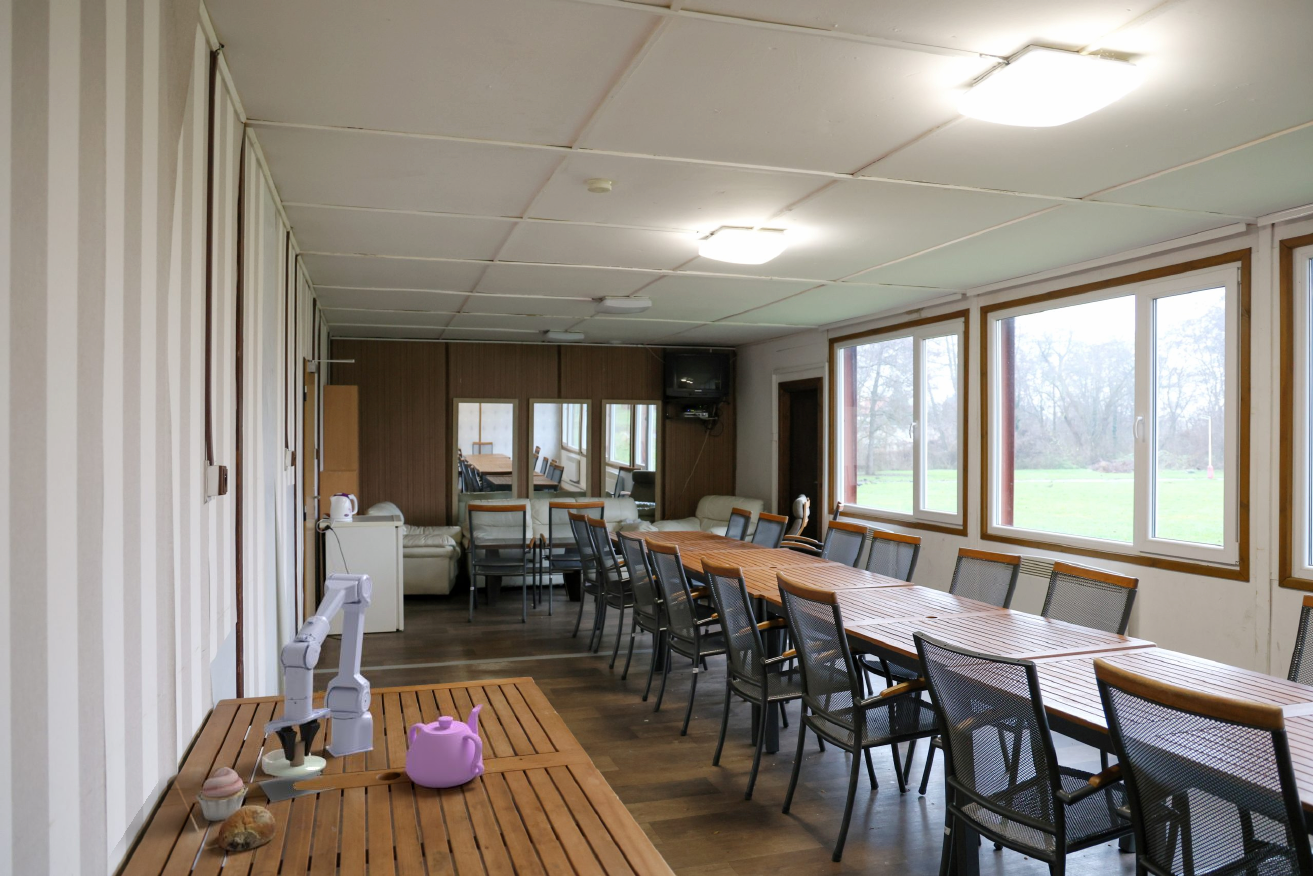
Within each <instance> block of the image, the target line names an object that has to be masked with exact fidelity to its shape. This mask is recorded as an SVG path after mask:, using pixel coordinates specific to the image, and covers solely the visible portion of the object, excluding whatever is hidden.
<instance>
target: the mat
mask: <svg viewBox="0 0 1313 876" xmlns="http://www.w3.org/2000/svg"><path fill="white" fill-rule="evenodd" d="M317 774H319V775H320V774H323V773H322V772H321V770H320V771H318V772H316V773H312V774H309V775H304V776H297V777H277V778H271V779H267V780H263V781H258V782H257V783H258V785H259V786H260V788H261V789H262V790H263V792H264V793H265V795H266V796H267V798H268V799H269V801H270V802H271V803H276V802H280V801H281V802H282V801H284V800H289V799H294V798H295V799H296V798H298V797H304V796H308V795H312V794H317V793H323V792H327V791H331V790H335V789H336V788H335V787H334V788H331V789H325V790H324V789H323V790H296V789H294V788H293V787H294V786H295V785H294V786H293V784H294V783H295V782H299V781H306V780H311V779H313V778H315V779H316V778H318V777H320V778H322V777H323V776H324V775H323V776H317Z"/></svg>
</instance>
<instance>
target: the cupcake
mask: <svg viewBox="0 0 1313 876" xmlns="http://www.w3.org/2000/svg"><path fill="white" fill-rule="evenodd" d="M202 788H203V790H201V791H199V794H197V795H196V796H195V797H196V799H197V800H198V802H199V804H200V806H201V809H202V813H203V818H204V819H205V820H207V821H211V822H219V821H225V819H226V818H228V817H229V816H230V815H231V814H232V813H233V812H235V811H236V810H238V809H240V808H242V803H243V800H244V797H245V796H246V793H247V791H248V790H249V787H246V786H245V784H244V781H243V780H242V778H241V777H239V775H238V773H237V772H236V771H235V770H234V769H233V768H230V767H226V766H223V767H222V768H219V769H217V771H216V772H215V773H214V774H213V776H212V777H210V778H208V779H206V780H205V781H204V783H203V787H202Z"/></svg>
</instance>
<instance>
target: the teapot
mask: <svg viewBox="0 0 1313 876" xmlns="http://www.w3.org/2000/svg"><path fill="white" fill-rule="evenodd" d="M482 708H483V704H478V705H476V706H475V707H474V708H472V710H471V712H470V713H469V717H468V718H467V719H468V720H467V723H465V722H463V721H458V720H454V717H452V716H447V715H446V716H445V715H444V716H443V715H442V716H440V717H437V721H433V722H430V723H428V724H424V723H415V724H414V725H412V726H411V727H410V728H409V731H408V741H409V749H407V751H406V753H405V757H406V760H405V772H406V774H407V775H408V777H409V778H410V779H411V781H413V782H414V783H415V784H416V785H419V786H423V787H427V788H440V789H441V788H445V789H447V788H450V787H456V786H459V785H463V784H465V783H468V782H469V781H472V780H473V778H474V777H479V776H482V775H483V774H484V772H485V766H484V764H483V754H482V752H483V742H482V739H481V737H480V736H479V727H478V725H479V724H478V718H479V717H478V716H479V714H480V711H481V709H482ZM417 729H418V730H420V731H419V732H418V734H417Z"/></svg>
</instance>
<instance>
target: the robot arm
mask: <svg viewBox="0 0 1313 876" xmlns="http://www.w3.org/2000/svg"><path fill="white" fill-rule="evenodd" d="M323 589H324V595H323V598H322V601H321V602H320V604H319V606H318V608H317V611H316V612H315V614H314V616H313V615H312V616H310V617H308V618H307V619H306V620H305V621H304V623H303V624H302V626H301V628H300V630H299V631H298V632H297V634H296V636H295V637H294V638H293V640H292V641H290V642H287V643H286V644H284V645H283V647H282V649H281V652H280V657H279V664H280V666H281V668H282V676H283V677H284V709H283V710H284V711H283V712H284V713H283V716H280V717H278V718H276V719H274V720H271V721H269V722H265V723H264V725H263V727H264V729H263V732H264V733H265V734H268V735H271V734H274V733H275V734H276V735H277V737H278V739H279V741H280V744H281V745H282V749H283V750H284V753H285V758H286V760H288V761H293V760H294V746H295V740H297V735H298V731H297V730H295V729H294V728H293V727H296V726H298V728H299V737H300V740H305V756H306V757H307V756H309V753H311V749H312V746H313V742H314V740H315V737H316V735H317V733H318V731H319V730H320V728H321V722H319V721H318V720H322V719H330V718H331V734H330V735H331V736H330V737H331V739H330V742H331V743H330V745H328V746H327V745H326V746H325V749H326V750H327V751H328V752H329V753H330V754H331V755H332V756H333V758H337V757H343V756H348V755H353V754H357V753H358V754H359V753H362V752H363V753H364V752H368V751H373V750H374V748H373V737H374V735H373V734H374V733H373V732H374V730H373V729H374V721H373V716H372V714H371V712H370V711H368V709H369V708H370V704H371V697H372V696H371V691H370V689H371V688H370V687H371V684H370V682H369V680H368V679H366V678H365V677H364V676H363V675H361V663H362V662H361V661H362V660H361V659H362V651H363V649H362V648H363V638H364V627H365V615H366V608H369V607H370V606H371V603H372V595H373V594H372V593H373V582H372V580H371V577H370V576H369V574H366V573H364V574H355V573H354V574H352V573H351V574H350V573H349V574H348V573H336V572H332V573H330V574H329V575H328V576H327V578H326V579H325V582H324V588H323ZM340 608H341V609H342V611H343V622H342V630H341V631H342V632H341V643H340V652H339V665H338V672H337V673H338V675H336V676H334V678H332V679H331V680H330V681H329V682H328V683H327V689H326V693H325V696H324V697H323V698H324V699H323V707H322V708H316V709H313V695H314V694H313V693H314V691H313V690H314V688H313V687H314V668H315V666H316V665H317V663H318V661H319V657H320V652H321V650H322V648H321V646H322V644H323V643H324V640H325V639H326V637H327V636H328V634H329V632H330V630H331V626H330V624H329V623H330V621H332V619H333V618H334V616H336V614H337V613H338V611H339V610H340Z"/></svg>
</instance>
